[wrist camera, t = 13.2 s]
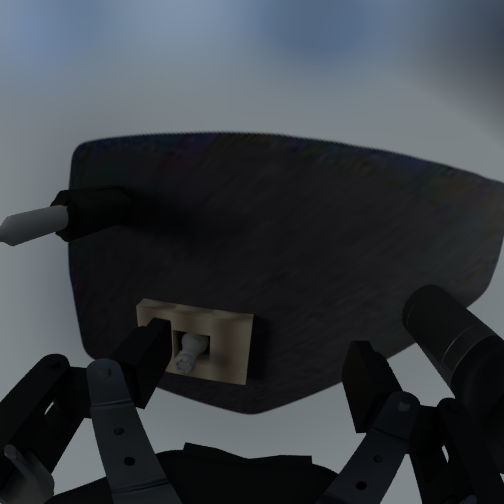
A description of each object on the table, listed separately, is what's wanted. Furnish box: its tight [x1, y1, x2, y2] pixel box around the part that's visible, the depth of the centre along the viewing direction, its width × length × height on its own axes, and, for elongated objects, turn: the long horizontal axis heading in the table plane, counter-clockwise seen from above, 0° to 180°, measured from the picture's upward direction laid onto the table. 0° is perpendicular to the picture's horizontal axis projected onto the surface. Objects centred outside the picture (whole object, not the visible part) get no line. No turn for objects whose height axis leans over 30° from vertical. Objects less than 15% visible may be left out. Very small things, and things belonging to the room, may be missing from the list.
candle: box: [0, 185, 132, 246], centre depth 27 cm, size 5×5×25 cm
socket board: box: [136, 298, 253, 385], centre depth 43 cm, size 18×12×3 cm, turn 85°
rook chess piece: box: [174, 332, 209, 374], centre depth 40 cm, size 4×4×8 cm
